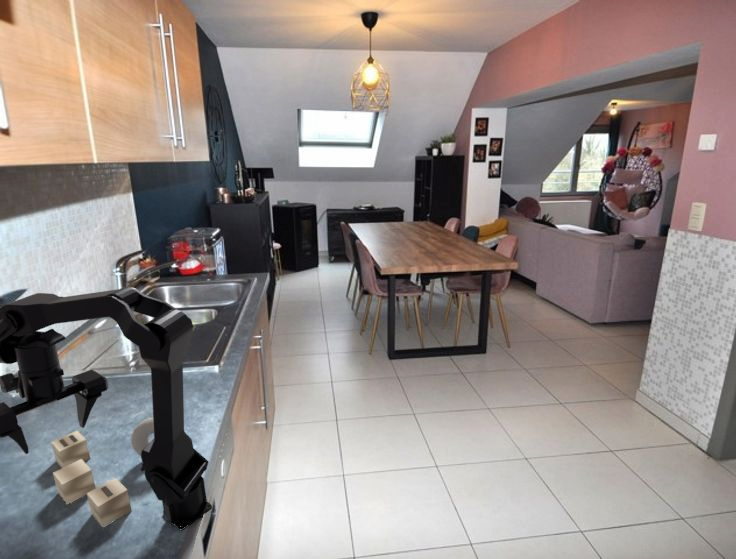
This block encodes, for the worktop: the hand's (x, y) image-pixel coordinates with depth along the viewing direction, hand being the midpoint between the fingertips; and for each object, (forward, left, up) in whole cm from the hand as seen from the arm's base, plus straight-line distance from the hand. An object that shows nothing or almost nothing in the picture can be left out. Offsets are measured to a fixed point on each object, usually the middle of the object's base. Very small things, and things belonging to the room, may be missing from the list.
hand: (55, 439), depth 81 cm
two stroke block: (-4, -11, -13) cm, 18 cm away
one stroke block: (-3, +11, -13) cm, 17 cm away
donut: (-16, +3, -13) cm, 21 cm away
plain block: (-1, 0, -13) cm, 13 cm away
